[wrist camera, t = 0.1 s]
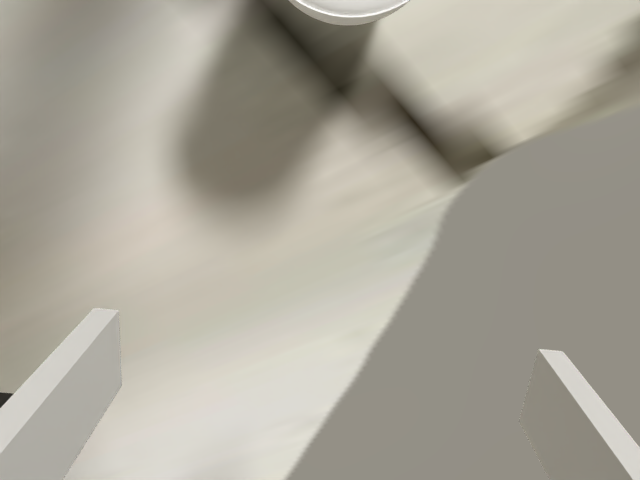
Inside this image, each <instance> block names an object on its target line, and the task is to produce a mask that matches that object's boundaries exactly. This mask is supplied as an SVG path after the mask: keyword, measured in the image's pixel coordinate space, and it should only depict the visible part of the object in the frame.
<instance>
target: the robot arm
mask: <svg viewBox="0 0 640 480" xmlns="http://www.w3.org/2000/svg"><path fill="white" fill-rule="evenodd" d="M121 386H122V377H121V351H120V326H119V310H112V309H101V308H93V309H92V311H91V312H90V313H89V314H88V315H87V316H86V317H85V318H84V319H83V320H82V321H81V322H80V323H79V324H78V326H77V327H76V328H75V329H74V330H73V331H72V332H71V333H70V334H69V335H68V336H67V337H66V338H65V340H64V341H63V342H62V343H61V344H60V345H59V346H58V347H57V348H56V349H55V350H54V351H53V352H52V353H51V355H50V356H49V357H48V358H47V359H46V360H45V361H44V362H43V363H42V364H41V365H40V366H39V367H38V368H37V370H36V371H35V372H34V373H33V374H32V375H31V376H30V377H29V378H28V379H27V380H26V381H25V382H24V383H23V385H22V386H21V387H20V388H19V389H18V390H17V391H16V392H15V393H14V394H11V393H0V480H63V478H64V477H65V475H66V474H67V472H68V470H69V469H70V467H71V466H72V464H73V462H74V461H75V459H76V458H77V456H78V454H79V453H80V451H81V450H82V448H83V447H84V445H85V443H86V442H87V440H88V439H89V437H90V435H91V434H92V432H93V431H94V429H95V427H96V426H97V424H98V423H99V421H100V419H101V418H102V416H103V415H104V413H105V411H106V410H107V408H108V407H109V405H110V403H111V402H112V400H113V399H114V397H115V396H116V394H117V392H118V391H119V389H120V388H121ZM519 422H520V424H521V426H522V428H523V430H524V432H525V434H526V436H527V437H528V440H529V441H530V443H531V445H532V447H533V449H534V451H535V453H536V455H537V457H538V459H539V460H540V462H541V464H542V466H543V468H544V470H545V472H546V474H547V476H548V478H549V479H550V480H640V447H639V446H638V445H637V444H636V443H635V441H634V440H633V439H632V437H631V436H630V435H629V434H628V432H627V431H626V430H625V429H624V427H623V426H622V425H621V424H620V422H619V421H618V420H617V419H616V417H615V416H614V415H613V414H612V412H611V411H610V410H609V409H608V407H607V406H606V405H605V404H604V402H603V401H602V400H601V399H600V397H599V396H598V395H597V394H596V392H595V391H594V390H593V388H592V387H591V386H590V385H589V383H588V382H587V381H586V380H585V379H584V377H583V376H582V375H581V374H580V373H579V371H578V370H577V368H576V367H575V366H574V365H573V364H572V362H571V361H570V360H569V358H568V357H567V356H566V355H565V354H564V352H563V351H554V350H543V349H539V350H538V354H537V357H536V361H535V364H534V368H533V372H532V375H531V379H530V383H529V386H528V390H527V393H526V397H525V401H524V404H523V408H522V412H521V416H520V419H519Z"/></svg>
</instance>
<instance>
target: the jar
mask: <svg viewBox="0 0 640 480" xmlns="http://www.w3.org/2000/svg"><path fill="white" fill-rule="evenodd" d="M289 1H290V2H291V3H292V4H293V5H294V6H295V7H296V8H298V9H299V10H301V11H302V12H304V13H305V14H307V15H309V16H311V17H313V18H315V19H317V20H320V21H323V22H326V23H330V24H335V25H347V26H349V25H361V24H366V23H370V22H374V21H377V20H379V19H382V18H384V17H386V16H388V15H390V14H392V13H394V12H395V11H397V10H398V9H400V8H401V7H403V6H404V5H405V4H407V3H408V2H409V1H410V0H289Z"/></svg>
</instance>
